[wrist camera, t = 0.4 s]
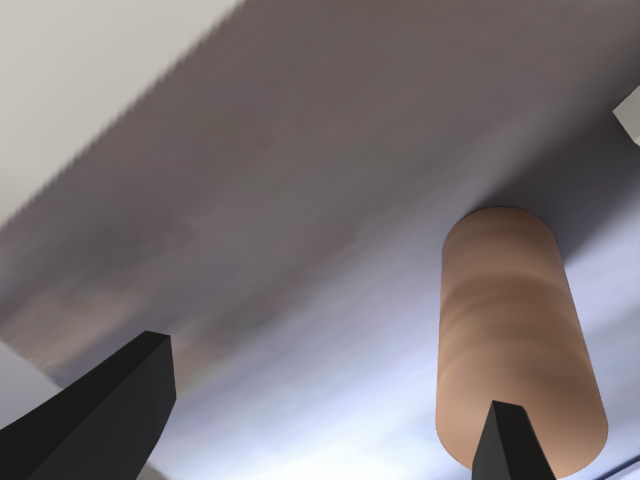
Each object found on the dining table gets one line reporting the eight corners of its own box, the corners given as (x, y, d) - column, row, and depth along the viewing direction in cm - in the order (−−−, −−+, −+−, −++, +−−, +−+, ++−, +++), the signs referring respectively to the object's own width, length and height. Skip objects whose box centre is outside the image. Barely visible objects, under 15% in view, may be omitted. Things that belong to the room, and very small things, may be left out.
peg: (583, 250, 20) (647, 432, 13) (502, 317, 22) (522, 503, 15) (494, 185, 19) (514, 340, 13) (420, 260, 21) (403, 427, 15)
